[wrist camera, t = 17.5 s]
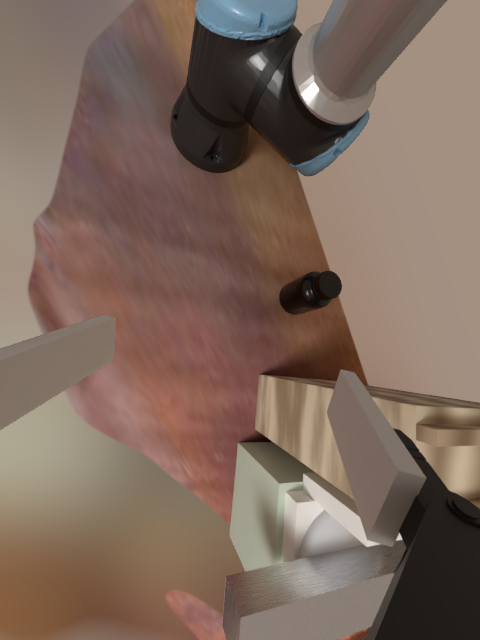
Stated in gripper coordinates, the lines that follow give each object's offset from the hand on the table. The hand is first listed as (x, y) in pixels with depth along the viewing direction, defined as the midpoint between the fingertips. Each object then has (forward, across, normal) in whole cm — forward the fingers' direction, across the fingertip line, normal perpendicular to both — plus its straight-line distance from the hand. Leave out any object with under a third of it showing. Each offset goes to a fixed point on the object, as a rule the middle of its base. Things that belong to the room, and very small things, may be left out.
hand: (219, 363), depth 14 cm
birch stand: (+33, +12, -21) cm, 41 cm away
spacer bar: (+10, +18, -26) cm, 33 cm away
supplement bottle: (+41, +7, -1) cm, 41 cm away
